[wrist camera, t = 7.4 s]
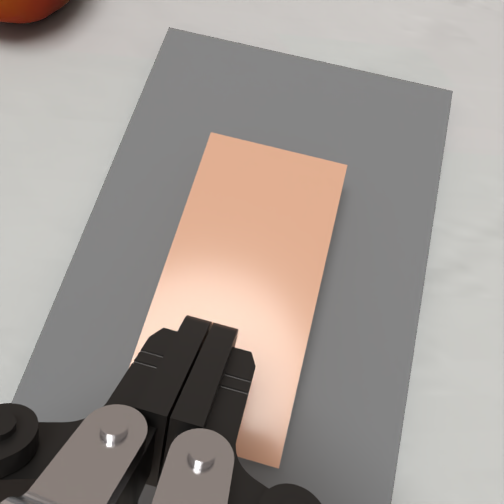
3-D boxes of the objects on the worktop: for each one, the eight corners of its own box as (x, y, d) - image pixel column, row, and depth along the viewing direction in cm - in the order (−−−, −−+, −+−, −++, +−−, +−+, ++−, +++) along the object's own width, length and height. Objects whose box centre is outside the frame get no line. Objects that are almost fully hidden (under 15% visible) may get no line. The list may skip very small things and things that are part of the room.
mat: (-33, 527, 17) (-43, 531, 16) (171, 36, 24) (169, 27, 24) (362, 653, 16) (366, 663, 15) (447, 98, 23) (452, 91, 22)
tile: (111, 419, 15) (210, 132, 19) (125, 417, 17) (213, 156, 21) (278, 468, 15) (347, 165, 19) (275, 461, 17) (338, 186, 21)
